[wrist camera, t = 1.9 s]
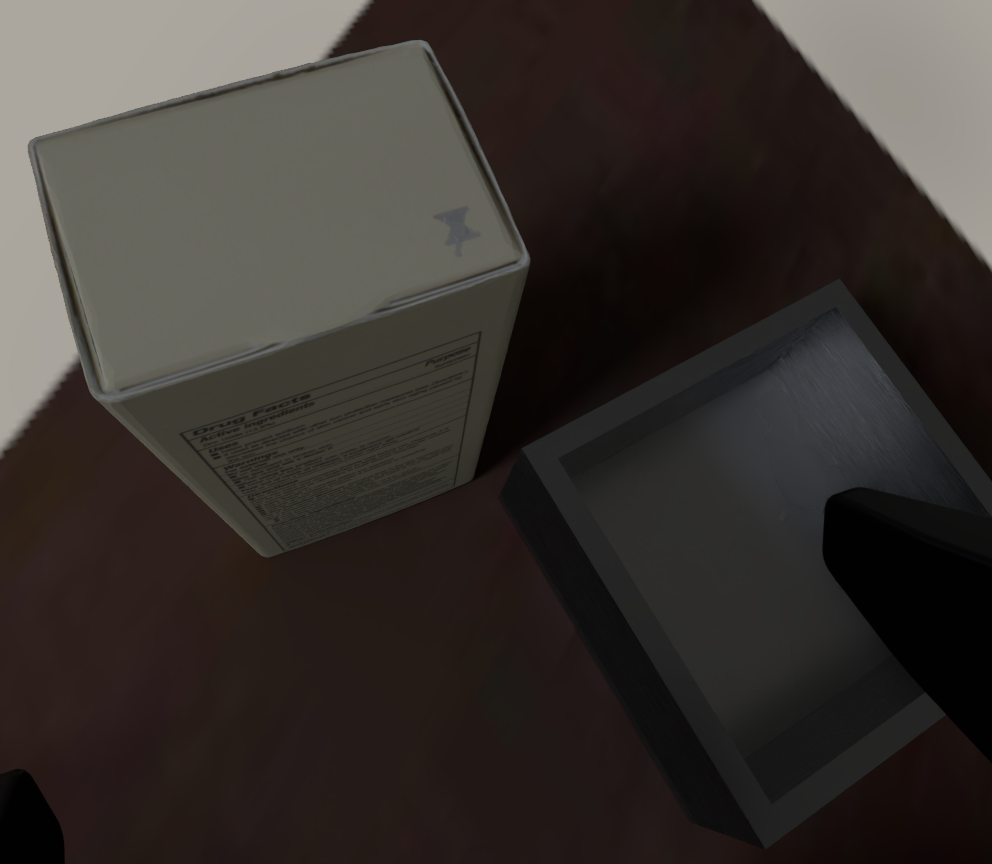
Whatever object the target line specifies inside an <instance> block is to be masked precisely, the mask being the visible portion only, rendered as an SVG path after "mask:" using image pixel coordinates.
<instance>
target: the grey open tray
mask: <svg viewBox="0 0 992 864" xmlns="http://www.w3.org/2000/svg"><path fill="white" fill-rule="evenodd" d="M855 487H866V488H870V489H874V490H879V491H883V492H887V493H891V494H896V495H900V496H904V497H908V498H913V499H917V500H921V501H926V502H930V503H934V504H938V505H943V506H947V507H951V508H955V509H960V510H964V511H968V512H972V513H977V514H981V515H985V516H989V517H992V481H991V480H990V479H989V477H988V476H987V475H986V473H985V472H984V471H983V469H982V468H981V467H980V465H979V464H978V463H977V461H976V460H975V459H974V457H973V456H972V455H971V453H970V452H969V451H968V449H967V448H966V447H965V445H964V444H963V443H962V441H961V440H960V439H959V437H958V436H957V435H956V433H955V432H954V431H953V429H952V428H951V427H950V425H949V424H948V423H947V421H946V420H945V419H944V417H943V416H942V415H941V413H940V412H939V411H938V409H937V408H936V407H935V405H934V404H933V403H932V401H931V400H930V399H929V397H928V396H927V395H926V393H925V392H924V391H923V389H922V388H921V387H920V385H919V384H918V383H917V381H916V380H915V379H914V377H913V376H912V375H911V373H910V372H909V371H908V369H907V368H906V367H905V365H904V364H903V363H902V361H901V360H900V359H899V357H898V356H897V355H896V353H895V352H894V351H893V349H892V348H891V347H890V345H889V344H888V343H887V341H886V340H885V339H884V337H883V336H882V335H881V333H880V332H879V331H878V329H877V328H876V327H875V325H874V324H873V323H872V321H871V320H870V319H869V317H868V316H867V315H866V313H865V312H864V311H863V309H862V308H861V307H860V305H859V304H858V303H857V301H856V300H855V299H854V297H853V296H852V295H851V293H850V292H849V291H848V289H847V288H846V287H845V285H844V284H843V283H842V281H841V280H840V279H838V280H836V281H834V282H832V283H831V284H829V285H827V286H825V287H823V288H821V289H819V290H817V291H816V292H814V293H812V294H810V295H808V296H806V297H804V298H802V299H801V300H799V301H797V302H795V303H793V304H791V305H789V306H787V307H786V308H784V309H782V310H780V311H778V312H776V313H774V314H773V315H771V316H769V317H767V318H765V319H763V320H761V321H759V322H758V323H756V324H754V325H752V326H750V327H748V328H746V329H744V330H743V331H741V332H739V333H737V334H735V335H733V336H731V337H729V338H728V339H726V340H724V341H722V342H720V343H718V344H716V345H714V346H713V347H711V348H709V349H707V350H705V351H703V352H701V353H700V354H698V355H696V356H694V357H692V358H690V359H688V360H686V361H685V362H683V363H681V364H679V365H677V366H675V367H673V368H671V369H670V370H668V371H666V372H664V373H662V374H660V375H658V376H656V377H655V378H653V379H651V380H649V381H647V382H645V383H643V384H641V385H640V386H638V387H636V388H634V389H632V390H630V391H628V392H626V393H625V394H623V395H621V396H619V397H617V398H615V399H613V400H612V401H610V402H608V403H606V404H604V405H602V406H600V407H598V408H597V409H595V410H593V411H591V412H589V413H587V414H585V415H583V416H582V417H580V418H578V419H576V420H574V421H572V422H570V423H568V424H567V425H565V426H563V427H561V428H559V429H557V430H555V431H553V432H552V433H550V434H548V435H546V436H544V437H542V438H540V439H538V440H537V441H535V442H533V443H531V444H529V445H527V446H525V447H524V448H522V449H521V451H520V453H519V455H518V457H517V460H516V462H515V464H514V466H513V468H512V470H511V472H510V474H509V476H508V478H507V480H506V482H505V485H504V487H503V489H502V491H501V493H500V495H499V499H500V501H501V503H502V504H503V506H504V508H505V509H506V511H507V513H508V514H509V516H510V518H511V519H512V521H513V523H514V525H515V526H516V528H517V530H518V531H519V533H520V535H521V536H522V538H523V540H524V541H525V543H526V545H527V546H528V548H529V550H530V552H531V553H532V555H533V557H534V558H535V560H536V562H537V563H538V565H539V567H540V568H541V570H542V572H543V574H544V575H545V577H546V579H547V580H548V582H549V584H550V585H551V587H552V589H553V590H554V592H555V594H556V596H557V597H558V599H559V601H560V602H561V604H562V606H563V607H564V609H565V611H566V612H567V614H568V616H569V617H570V619H571V621H572V623H573V624H574V626H575V628H576V629H577V631H578V633H579V634H580V636H581V638H582V639H583V641H584V643H585V645H586V646H587V648H588V650H589V651H590V653H591V655H592V656H593V658H594V660H595V661H596V663H597V665H598V667H599V668H600V670H601V672H602V673H603V675H604V677H605V678H606V680H607V682H608V683H609V685H610V687H611V688H612V690H613V692H614V694H615V695H616V697H617V699H618V700H619V702H620V704H621V705H622V707H623V709H624V710H625V712H626V714H627V716H628V717H629V719H630V721H631V722H632V724H633V726H634V727H635V729H636V731H637V732H638V734H639V736H640V737H641V739H642V741H643V743H644V744H645V746H646V748H647V749H648V751H649V753H650V754H651V756H652V758H653V759H654V761H655V763H656V765H657V766H658V768H659V770H660V771H661V773H662V775H663V776H664V778H665V780H666V781H667V783H668V785H669V787H670V788H671V790H672V792H673V793H674V795H675V797H676V798H677V800H678V802H679V803H680V805H681V807H682V808H683V810H684V812H685V814H686V815H687V817H688V819H689V820H690V822H691V823H694V824H697V825H700V826H702V827H705V828H708V829H711V830H713V831H716V832H719V833H722V834H725V835H727V836H730V837H733V838H736V839H738V840H741V841H744V842H747V843H749V844H752V845H755V846H758V847H760V848H763V849H767V848H768V847H770V846H771V845H772V844H774V843H775V842H776V841H778V840H779V839H780V838H782V837H783V836H784V835H786V834H787V833H788V832H790V831H791V830H792V829H794V828H795V827H796V826H798V825H799V824H800V823H802V822H803V821H804V820H806V819H807V818H808V817H810V816H811V815H813V814H814V813H815V812H817V811H818V810H819V809H821V808H822V807H823V806H825V805H826V804H827V803H829V802H830V801H831V800H833V799H834V798H835V797H837V796H838V795H839V794H841V793H842V792H843V791H845V790H846V789H847V788H849V787H850V786H851V785H853V784H854V783H855V782H857V781H858V780H859V779H861V778H862V777H863V776H865V775H866V774H867V773H869V772H870V771H871V770H873V769H874V768H875V767H877V766H878V765H879V764H881V763H882V762H883V761H885V760H886V759H887V758H889V757H890V756H892V755H893V754H894V753H896V752H897V751H898V750H900V749H901V748H902V747H904V746H905V745H906V744H908V743H909V742H910V741H912V740H913V739H914V738H916V737H917V736H918V735H920V734H921V733H922V732H924V731H925V730H926V729H928V728H929V727H930V726H932V725H933V724H934V723H936V722H937V721H938V720H940V719H941V718H942V717H944V716H945V715H946V714H945V713H944V712H943V711H942V710H941V708H940V707H939V706H938V705H937V704H936V703H935V702H934V701H933V700H932V699H931V698H930V697H929V696H928V695H927V693H926V692H925V691H924V690H923V689H922V688H921V687H920V686H919V685H918V684H917V683H916V681H915V680H914V679H913V678H912V677H911V676H910V675H909V674H908V672H907V671H906V670H905V669H904V668H903V667H902V665H901V664H900V663H899V662H898V660H897V659H896V658H895V657H894V656H893V654H892V653H891V652H890V650H889V649H888V648H887V647H886V645H885V644H884V643H883V641H882V640H881V639H880V637H879V636H878V635H877V633H876V632H875V631H874V630H873V628H872V627H871V626H870V624H869V623H868V622H867V620H866V619H865V618H864V616H863V615H862V614H861V613H860V611H859V610H858V609H857V607H856V606H855V605H854V603H853V602H852V601H851V600H850V598H849V597H848V596H847V594H846V593H845V592H844V590H843V589H842V588H841V586H840V585H839V584H838V583H837V581H836V580H835V579H834V577H833V576H832V575H831V573H830V572H829V570H828V569H827V567H826V565H825V562H824V559H823V554H822V543H823V524H824V508H825V503H826V501H827V499H828V498H829V497H830V496H832V495H833V494H836V493H839V492H842V491H845V490H848V489H851V488H855Z"/></svg>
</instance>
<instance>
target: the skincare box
mask: <svg viewBox="0 0 992 864" xmlns="http://www.w3.org/2000/svg"><path fill="white" fill-rule="evenodd" d="M28 154H29V158H30V162H31V165H32V169H33V173H34V176H35V180H36V185H37V190H38V195H39V200H40V204H41V208H42V212H43V217H44V221H45V225H46V230H47V235H48V239H49V242H50V247H51V253H52V256H53V259H54V263H55V268H56V270H57V273H58V277H59V282H60V286H61V290H62V293H63V297H64V302H65V306H66V310H67V314H68V318H69V322H70V325H71V328H72V332H73V335H74V339H75V342H76V346H77V349H78V353H79V357H80V360H81V364H82V368H83V371H84V375H85V378H86V381H87V385H88V388H89V391H90V393H91V394H92V396H93V397H94V398H95V399H96V400H98V401H99V402H100V403H101V404H102V405H103V406H104V407H105V408H106V409H107V410H108V411H109V412H110V413H111V414H112V415H113V416H114V417H116V418H117V419H118V420H119V421H120V422H121V423H122V424H123V425H124V426H125V427H126V428H127V429H128V430H129V431H130V432H131V433H132V434H133V435H135V436H136V437H137V438H138V439H139V440H140V441H141V442H142V443H143V444H144V445H145V446H146V447H147V448H148V449H149V450H150V451H151V452H153V453H154V454H155V455H156V456H157V457H158V458H159V459H160V460H161V461H162V462H163V463H164V464H165V465H166V466H167V467H168V468H169V469H170V470H172V471H173V472H174V473H175V474H176V475H177V476H178V477H179V478H180V479H181V480H182V481H183V482H184V483H185V484H187V485H188V486H189V487H190V488H191V489H192V490H193V491H194V492H195V493H196V494H197V495H198V496H199V497H200V498H201V499H202V500H203V501H204V502H205V503H206V504H207V505H208V506H209V507H210V508H212V509H213V510H214V511H215V512H216V513H217V514H218V515H219V516H220V517H221V518H222V519H223V520H224V521H225V522H226V523H227V524H229V525H230V526H231V527H232V528H233V529H234V530H235V531H236V532H237V533H238V534H239V535H240V536H241V537H242V538H243V539H244V540H245V541H247V542H248V543H249V544H250V545H251V547H253V548H254V549H255V550H256V551H257V552H258V553H259V554H260V555H261V556H263V557H271V556H275V555H278V554H281V553H284V552H287V551H290V550H293V549H296V548H299V547H302V546H305V545H308V544H310V543H313V542H316V541H319V540H322V539H324V538H327V537H330V536H333V535H336V534H339V533H341V532H344V531H347V530H349V529H352V528H355V527H358V526H360V525H363V524H365V523H368V522H370V521H373V520H376V519H378V518H381V517H384V516H386V515H389V514H391V513H394V512H397V511H399V510H402V509H404V508H407V507H409V506H412V505H414V504H417V503H419V502H422V501H424V500H427V499H429V498H432V497H434V496H437V495H439V494H441V493H444V492H446V491H448V490H451V489H453V488H455V487H458V486H460V485H463V484H465V483H468V482H469V481H471V480H472V479H473V478H474V475H475V470H476V467H477V463H478V460H479V455H480V451H481V448H482V444H483V440H484V436H485V433H486V428H487V424H488V421H489V418H490V414H491V409H492V406H493V402H494V397H495V394H496V391H497V387H498V383H499V380H500V376H501V372H502V368H503V364H504V360H505V357H506V353H507V350H508V345H509V341H510V337H511V334H512V330H513V326H514V322H515V319H516V315H517V311H518V308H519V304H520V300H521V296H522V293H523V289H524V285H525V281H526V278H527V274H528V270H529V266H530V256H529V253H528V251H527V249H526V247H525V245H524V242H523V240H522V238H521V236H520V234H519V232H518V230H517V227H516V225H515V222H514V220H513V217H512V215H511V212H510V210H509V208H508V206H507V203H506V201H505V200H504V198H503V195H502V193H501V191H500V188H499V186H498V183H497V181H496V179H495V176H494V174H493V172H492V170H491V168H490V166H489V163H488V161H487V159H486V157H485V155H484V153H483V150H482V148H481V146H480V144H479V142H478V139H477V137H476V135H475V133H474V131H473V129H472V127H471V124H470V122H469V120H468V118H467V116H466V114H465V112H464V110H463V108H462V106H461V104H460V101H459V99H458V97H457V95H456V94H455V92H454V90H453V88H452V85H451V84H450V82H449V80H448V79H447V77H446V75H445V74H444V72H443V70H442V68H441V66H440V64H439V62H438V60H437V58H436V56H435V54H434V52H433V50H432V49H431V47H430V46H429V44H428V43H427V42H425V41H422V40H414V41H408V42H404V43H400V44H396V45H391V46H384V47H379V48H375V49H371V50H366V51H362V52H358V53H352V54H346V55H343V56H340V57H335V58H330V59H326V60H322V61H318V62H315V63H307V64H304V65H301V66H298V67H294V68H290V69H285V70H281V71H277V72H273V73H271V74H267V75H263V76H259V77H255V78H251V79H246V80H242V81H238V82H235V83H231V84H228V85H225V86H221V87H217V88H213V89H209V90H205V91H201V92H198V93H194V94H190V95H186V96H182V97H179V98H175V99H171V100H168V101H165V102H161V103H157V104H153V105H149V106H145V107H141V108H138V109H134V110H131V111H128V112H125V113H121V114H118V115H114V116H111V117H107V118H103V119H99V120H96V121H93V122H90V123H86V124H83V125H80V126H76V127H73V128H69V129H65V130H62V131H58V132H54V133H51V134H47V135H43V136H40V137H36V138H34V139H32V140H31V141H30V142H29V144H28Z"/></svg>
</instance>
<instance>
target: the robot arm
mask: <svg viewBox="0 0 992 864" xmlns="http://www.w3.org/2000/svg"><path fill="white" fill-rule="evenodd" d="M822 554H823V559H824V562H825V565H826V567H827V569H828V570H829V572H830V573H831V575H832V576H833V577H834V579H835V580H836V581H837V583H838V584H839V585H840V586H841V588H842V589H843V590H844V592H845V593H846V594H847V596H848V597H849V598H850V600H851V601H852V602H853V603H854V605H855V606H856V607H857V609H858V610H859V611H860V613H861V614H862V615H863V616H864V618H865V619H866V620H867V622H868V623H869V624H870V626H871V627H872V628H873V630H874V631H875V632H876V633H877V635H878V636H879V637H880V639H881V640H882V641H883V643H884V644H885V645H886V647H887V648H888V649H889V650H890V652H891V653H892V654H893V656H894V657H895V658H896V659H897V660H898V662H899V663H900V664H901V665H902V667H903V668H904V669H905V670H906V671H907V672H908V674H909V675H910V676H911V677H912V678H913V679H914V680H915V681H916V683H917V684H918V685H919V686H920V687H921V688H922V689H923V690H924V691H925V692H926V693H927V695H928V696H929V697H930V698H931V699H932V700H933V701H934V702H935V703H936V704H937V705H938V706H939V707H940V708H941V710H942V711H943V712H944V713H945V714H946V715H947V716H948V717H949V718H950V719H951V720H952V721H953V722H954V723H955V724H956V726H957V727H958V728H959V729H960V730H961V731H962V732H963V733H964V734H965V735H966V736H967V737H968V738H969V739H970V741H971V742H972V743H973V744H974V745H975V746H976V747H977V748H978V749H979V750H980V751H981V752H982V753H983V754H984V755H985V757H986V758H987V759H988V760H989V761H990V762H991V763H992V517H989V516H985V515H981V514H977V513H972V512H968V511H964V510H960V509H955V508H951V507H947V506H943V505H938V504H934V503H930V502H926V501H921V500H917V499H913V498H908V497H904V496H900V495H896V494H891V493H887V492H883V491H879V490H874V489H870V488H866V487H855V488H851V489H848V490H845V491H842V492H839V493H836V494H833V495H832V496H830V497H829V498H828V499H827V501H826V503H825V508H824V524H823V543H822ZM0 864H65V858H64V839H63V834H62V830H61V827H60V824H59V822H58V820H57V818H56V816H55V815H54V813H53V811H52V810H51V808H50V806H49V805H48V803H47V801H46V800H45V798H44V796H43V794H42V793H41V791H40V789H39V788H38V786H37V784H36V783H35V781H34V779H33V778H32V776H31V775H30V774H29V773H28V772H27V771H25V770H22V769H14V770H11V771H8V772H6V773H3V774H0Z"/></svg>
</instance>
